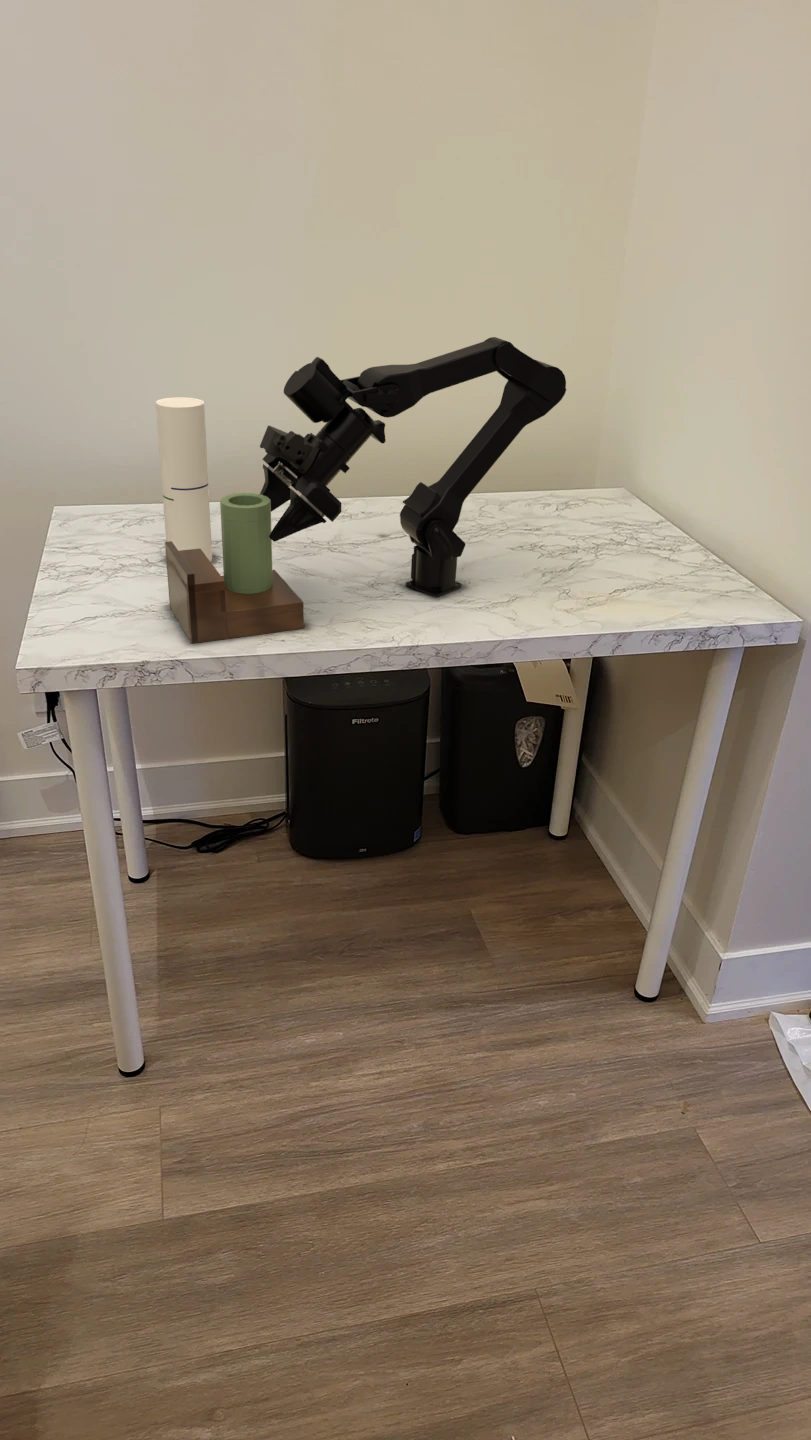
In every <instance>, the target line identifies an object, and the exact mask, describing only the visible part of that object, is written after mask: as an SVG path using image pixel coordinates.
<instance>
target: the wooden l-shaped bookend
mask: <svg viewBox="0 0 811 1440" xmlns="http://www.w3.org/2000/svg"><path fill="white" fill-rule="evenodd" d="M164 547H165V548H164V550H165V561H166V573H167V574H166V575H167V589H168V599H169V601H168V602H169V609H170V610H171V612H172V613H173V615H174V617H175V618H176V620H177V621H178V623H179V625H180V627H181V628H182V630H183V632H184V633H185V635H186V637H187V638H188V640H189V642H190V643H191V644H200V643H206V642H214V641H221V640H227V639H237V638H243V637H250V636H256V635H264V634H272V633H279V632H285V631H286V632H287V631H293V630H301V629H302V630H303V629H304V625H305V624H304V623H305V622H304V621H305V620H304V616H305V615H304V614H305V613H304V601H303V599H301V597H300V596H299V595H298V594H297V593H296V592H295V591H294V589H292V587H291V586H290V585H289V584H288V583H287V582H286V581H285V580H284V578H283V577H282V576H281V575H280V574H279V573H278V572H277V571H276V569H272V577H273V580H272V587H271V588H270V589H269V590H267V591H264V592H260V593H254V594H241V593H235V592H232V591H229V590H228V589H226V587H225V581H224V575H221V573H219V571H218V570H217V568H216V567H215V566H214V565H213V563H212V561H211V562H210V561H209V559H208V558H207V557H206V555H205V554H204V553H203V551H202V550H201V549H190V550H180V551H178V550H177V548H176V547H175V545H174V544H173V542H172V541H169V542H166V541H165V542H164Z"/></svg>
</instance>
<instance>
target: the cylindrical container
mask: <svg viewBox="0 0 811 1440" xmlns="http://www.w3.org/2000/svg"><path fill="white" fill-rule="evenodd" d="M155 409H156V424H157V438H158V453H159V464H160V477H161V478H160V479H161V491H162V503H163V505H162V506H163V517H164V518H163V519H164V531H165V542H169V541H172V542H173V544H174V545H175V547H176V548H177V550H178V551H180V550H190V549H201V550H202V551H203V553H204V554H205V555H206V557H207V558H208V559H209V561H210V562H211V563H212V561H213V545H212V530H211V529H212V527H211V509H210V506H211V505H210V487H209V470H208V453H207V450H208V449H207V434H206V433H207V432H206V412H205V411H206V410H205V402H204V400H203V399H200V398H195V397H190V396H189V397H187V396H186V397H185V396H183V397H182V396H174V397H173V396H172V397H171V396H170V397H164V398H160V399H158V400H156V401H155Z"/></svg>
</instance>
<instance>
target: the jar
mask: <svg viewBox="0 0 811 1440" xmlns="http://www.w3.org/2000/svg"><path fill="white" fill-rule="evenodd" d="M219 506H220V525H221V526H220V527H221V529H220V530H221V547H222V548H221V549H222V567H223V568H222V569H223V570H222V571H223V576H224V581H225V587H226V589H228V590H229V591H232V592H235V593H241V594H254V593H260V592H264V591H267V590H269V589H270V588H271V587H272V580H273V577H272V570H273V540H271V539H270V538H269V535H270V533H271V532H272V512H271V500H270V499H269V498H268V497H267V496H264V495H260V493H259V494H258V493H253V492H239V493H232V494H227V495H225V496H223V497H221V498H220V500H219Z"/></svg>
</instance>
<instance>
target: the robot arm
mask: <svg viewBox="0 0 811 1440" xmlns="http://www.w3.org/2000/svg"><path fill="white" fill-rule="evenodd" d="M495 372H497V374H499V375H500V376H501V377H503V378H504V379H506V380H507V381H506V383H505V385H504V388H503V392H502V396H501V399H500V403H499V405H498V407H497V408H496V409H495V411H494V412H493V413H492V415H491V416H490V417H489V418H487V421H486V422H485V423H484V424H483V426H482V427H481V428H479V429H480V430H479V431H478V432H476V434H475V435H474V437H473V438H471V440H470V442H469V443H468V444H467V446H465V448H463V450H462V452H461V453H459V455H458V457H457V458H456V459H455V460H454V461H453V463H452V464H451V465H450V466H449V467H448V469H447V470H446V471H445V472H444V474H443V475H442V476H441V477H440V479H439V480H438V481H436V482H434V483H432V484H430V485H429V486H428V485H427V484H425V483H423V482H422V481H420V482H419V483H418V484H416V486H415V488H414V489H413V491H412V493H411V494H410V495H409V496H408V497H407V498H406V499H404V500H403V501H402V504H403V507H402V509H401V510H400V513H399V517H400V519H399V520H400V522H399V523H400V526H401V528H402V530H403V531H404V532H405V533H406V534H407V535H408V536H409V540H410V542H411V543H412V544H415V545H413V553H412V554H411V563H410V565H411V567H410V579H411V580H408V581H407V582H405V587H408V588H410V589H412V590H416V591H418V592H421V593H423V594H427V595H429V596H432V597H436V598H437V597H440V596H443V595H445V594H447V593H450V592H452V591H454V590H457V589H460V588H462V585H463V584H462V582H459V581H457V568H458V567H457V566H458V558H459V557H461V556H462V555H463V552H464V549H465V547H466V542H464V541H463V539H461V537H460V536H459V535H458V534H457V533H456V532H455V531H454V529H455V528H456V526H457V524H458V522H459V520H460V517H461V513H462V509H463V505H464V502H465V501H466V500H467V498H468V497H469V495H470V494H471V493H472V492H473V490H475V488H476V487H477V486H478V484H479V483H480V482H481V481H482V480H483V478H484V477H485V476H486V474H487V473H488V472H489V471H490V470H491V468H492V467H493V466H494V465H495V463H496V462H497V461H498V460H499V459H500V457H501V456H502V455H503V454H504V453H505V451H506V450H507V449H508V448H509V447H510V445H511V444H512V442H513V441H514V440H515V439H516V438H517V436H518V435H519V434H520V433H521V431H523V430H524V428H525V427H526V426H528V425H529V424H532V423H533V422H535V421H537V420H539V419H541V418H543V417H544V416H546V415H547V414H548V413H549V412H550V411H551V410H552V409H553V408H554V407H556V406H557V405H558V404H559V403H560V402H561V401H562V400H563V398H564V396H565V395H566V392H567V379H566V376H565V373H564V372H563V371H562V370H561V369H560V368H559V367H557V366H554V365H551V364H549V363H546V362H544V361H541V360H537V359H535V358H532V357H531V356H529V355H528V354H526V353H525V352H523V351H522V350H520V349H518V348H517V347H516V346H515V345H514V344H513V343H512V342H510V341H508V340H505V339H502V338H499V337H496V336H492V337H488V338H486V339H485V340H483V341H481V342H478V343H475V344H472V345H469V346H466V347H462V348H460V349H456V350H454V351H450V352H446V353H444V354H441V355H438V356H435V357H431V358H429V359H426V360H422V361H420V362H416V363H410V364H386V365H378V366H371V367H368V368H366V369H364V370H363V371H361V372H360V374H359V375H358V376H354V377H353V376H352V377H349V378H344V379H343V378H342V379H340V378H339V377H338V376H337V375H336V374H335V373H334V372H333V370H332V369H331V368H330V366H329V364H328V363H327V362H326V361H325V360H324V359H323V358H320V357H319V356H316V357H315V358H314V359H313V360H312V362H309V363H307V364H305V365H303V366H302V367H301V368H299V369H298V370H295V371H294V372H293V373H292V374H291V375H290V376H289V378H288V379H287V381H286V382H285V384H284V388H283V394H284V395H285V396H286V397H287V399H288V400H290V402H291V403H292V404H294V405H295V406H296V407H297V408H298V410H300V412H301V413H303V414H304V416H305V417H307V418H308V419H309V420H310V421H311V423H313V424H317V423H321V422H322V423H325V424H324V425H323V426H322V427H321V429H320V430H318V432H317V433H316V434H313V432H310V433H307V434H306V435H305V436H303V435H301V434H300V433H295V431H292V430H290V431H289V432H286V431H284V430H281V429H279V428H277V427H274V426H272V425H269V424H267V427H266V429H265V432H264V434H263V436H262V439H261V442H260V445H259V448H260V449H263V450H264V452H265V453H266V454H265V455H264V456H263V458H262V461H263V462H264V463H266V464H267V465H268V466H266V465H265V464H264V463H263V464H262V469H263V474H264V483H263V486H262V487H261V490H260V493H259V494H260V495H264V496H267V497H268V498H269V499H270V500H271V513H272V512H273V511H275V510H276V509H278V508H279V507H281V506H283V505H284V504H286V503H288V502H289V504H288V507H287V508H286V509H285V511H284V512H283V514H281V517H280V518H279V519H278V521H277V522H276V524H275V525H274V527H273V528H272V529H271V533H270V535H269V538H270V539H271V540H272V542H278V541H280V540H282V539H285V538H287V537H289V536H291V535H293V534H296V533H298V532H301V531H303V530H306V529H308V528H311V527H313V526H316V525H320V524H322V523H323V524H325V523H326V522H327V519H328V520H329V521H330V522H331V523H333V522H334V521H335V520H336V519H337V518H338V516H339V515H340V514H341V513H342V502H341V501H340V500H339V499H338V498H337V497H336V496H335V495H334V494H333V493H332V492H331V489H329V487H328V485H330V483H331V482H332V481H333V480H334V479H335V477H336V476H337V475H338V474H339V473H340V472H343V473H344V474H346V473H347V472H348V471H349V470H350V469H351V468H350V466H348V463H349V461H350V460H351V459H352V458H353V457H354V456H355V455H356V454H357V453H358V452H359V450H360V449H361V448H362V446H364V444H365V443H366V442H367V441H368V440H369V439H370V438H373V439H374V440H376V441H377V442H379V443H380V444H385V443H386V432H385V428H386V423H385V422H384V421H381V420H380V419H377V420H374V419H373V418H372V416H370V414H369V413H367V412H366V410H365V409H364V408H367V409H368V410H370V411H372V412H373V413H375V414H376V415H378V416H380V417H383V418H393V417H396V416H398V415H400V414H403V412H405V411H407V410H409V409H411V408H414V407H415V405H417V404H418V403H419V402H420V401H422V399H423V398H424V397H427V396H428V395H430V394H432V393H435V392H438V391H442V390H445V389H447V388H451V387H453V386H456V385H460V384H462V383H465V382H468V381H471V380H474V379H477V378H480V377H483V376H486V375H489V374H492V373H495ZM347 399H348V400H350V401H352V402H353V403H355V404H357V405H359V406H360V407H356V408H354V407H352V406H351V405H350V404H349V403H348V402H347ZM290 487H292V488H290ZM293 489H294V490H295V491H294V490H293ZM297 491H298V492H299V493H300V495H299V494H298V493H297ZM324 517H326V518H327V519H325V518H324Z"/></svg>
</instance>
